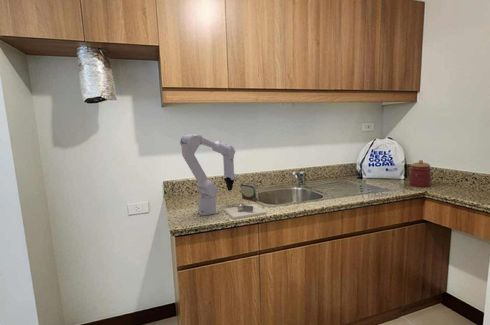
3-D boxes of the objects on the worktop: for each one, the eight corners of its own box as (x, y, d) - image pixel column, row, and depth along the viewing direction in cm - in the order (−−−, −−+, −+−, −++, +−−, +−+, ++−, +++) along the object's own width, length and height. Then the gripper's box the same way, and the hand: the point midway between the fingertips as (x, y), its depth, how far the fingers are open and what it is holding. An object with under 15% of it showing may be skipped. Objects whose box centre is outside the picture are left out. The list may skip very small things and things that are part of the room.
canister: (431, 188, 181) (432, 161, 178) (408, 186, 187) (409, 161, 185) (430, 184, 192) (431, 159, 189) (409, 182, 198) (409, 158, 196)
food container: (261, 199, 169) (261, 184, 168) (254, 202, 165) (254, 185, 164) (247, 196, 178) (247, 181, 177) (240, 198, 174) (240, 183, 172)
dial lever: (236, 210, 144) (236, 204, 143) (239, 208, 147) (239, 203, 147) (251, 212, 140) (250, 206, 139) (254, 210, 143) (254, 204, 142)
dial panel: (233, 219, 135) (233, 217, 135) (224, 210, 150) (224, 208, 150) (266, 214, 141) (266, 211, 141) (254, 206, 156) (254, 204, 156)
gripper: (239, 167, 150) (240, 191, 152) (231, 164, 164) (232, 187, 165) (227, 169, 148) (228, 193, 149) (220, 165, 161) (221, 188, 163)
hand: (229, 190), depth 157 cm, fingers closed
